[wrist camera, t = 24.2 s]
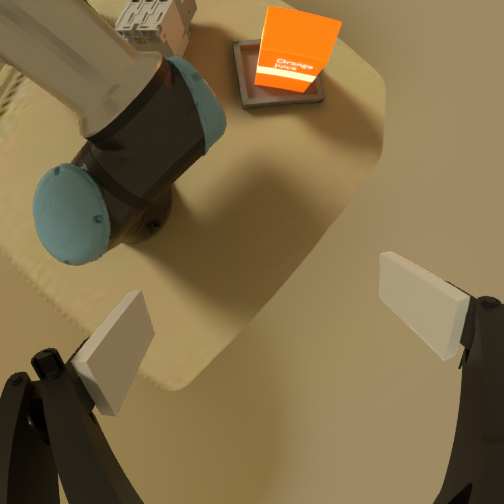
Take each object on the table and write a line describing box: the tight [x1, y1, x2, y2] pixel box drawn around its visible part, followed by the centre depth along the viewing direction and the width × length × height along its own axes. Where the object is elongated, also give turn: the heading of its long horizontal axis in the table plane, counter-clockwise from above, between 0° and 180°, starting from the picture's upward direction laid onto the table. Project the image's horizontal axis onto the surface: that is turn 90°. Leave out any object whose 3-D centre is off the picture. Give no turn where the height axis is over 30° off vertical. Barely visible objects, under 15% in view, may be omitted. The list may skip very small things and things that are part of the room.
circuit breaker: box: [115, 0, 197, 59], centre depth 31 cm, size 8×14×15 cm, turn 165°
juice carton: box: [255, 6, 342, 92], centre depth 31 cm, size 8×9×20 cm
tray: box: [233, 39, 324, 109], centre depth 40 cm, size 14×13×2 cm
